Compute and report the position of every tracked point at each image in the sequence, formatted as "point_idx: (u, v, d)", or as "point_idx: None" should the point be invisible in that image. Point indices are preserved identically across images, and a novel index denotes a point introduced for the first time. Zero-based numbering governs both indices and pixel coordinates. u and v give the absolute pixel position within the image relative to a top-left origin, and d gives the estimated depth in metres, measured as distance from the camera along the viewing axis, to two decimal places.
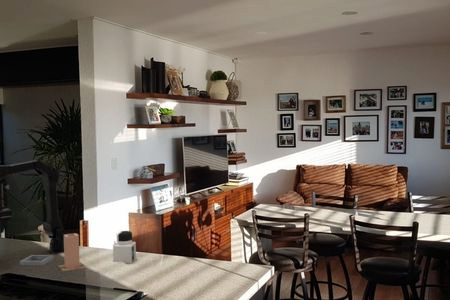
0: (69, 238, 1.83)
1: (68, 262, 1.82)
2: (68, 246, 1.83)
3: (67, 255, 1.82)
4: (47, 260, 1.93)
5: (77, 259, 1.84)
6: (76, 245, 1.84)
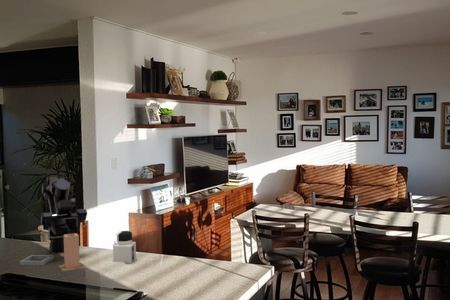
0: (69, 238, 1.83)
1: (68, 262, 1.82)
2: (68, 246, 1.83)
3: (67, 255, 1.82)
4: (47, 260, 1.93)
5: (77, 259, 1.84)
6: (76, 245, 1.84)
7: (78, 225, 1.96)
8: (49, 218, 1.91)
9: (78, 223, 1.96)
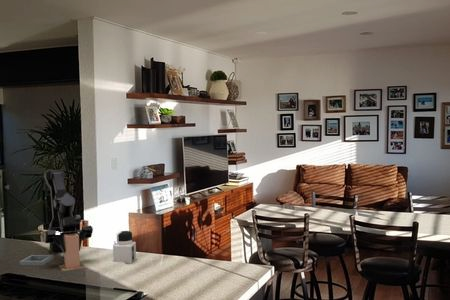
0: (69, 238, 1.83)
1: (68, 262, 1.82)
2: (68, 246, 1.83)
3: (67, 255, 1.82)
4: (47, 260, 1.93)
5: (77, 259, 1.84)
6: (76, 245, 1.84)
7: (79, 243, 1.87)
8: (58, 235, 1.84)
9: (79, 241, 1.87)
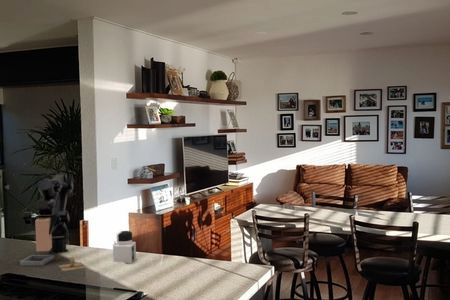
0: (38, 222, 1.87)
1: (37, 245, 1.87)
2: (38, 229, 1.87)
3: (36, 238, 1.87)
4: (47, 260, 1.93)
5: (46, 243, 1.88)
6: (45, 229, 1.87)
7: (50, 227, 1.90)
8: (32, 218, 1.90)
9: (51, 225, 1.90)
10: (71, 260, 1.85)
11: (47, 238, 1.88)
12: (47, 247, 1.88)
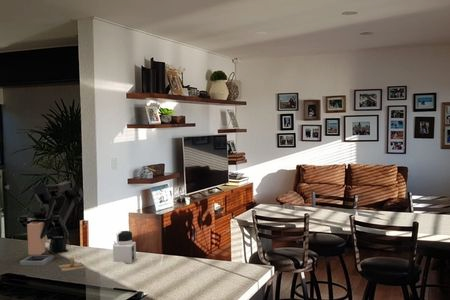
0: (30, 226, 1.91)
1: (29, 248, 1.91)
2: (30, 233, 1.91)
3: (28, 241, 1.91)
4: (47, 260, 1.93)
5: (37, 247, 1.91)
6: (36, 233, 1.91)
7: (42, 232, 1.93)
8: (26, 222, 1.95)
9: (43, 230, 1.93)
10: (71, 260, 1.85)
11: (38, 242, 1.91)
12: (38, 251, 1.91)
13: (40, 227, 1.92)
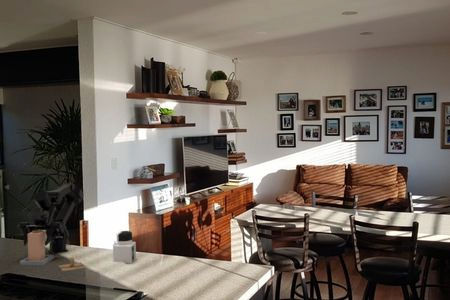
0: (30, 235, 1.91)
1: (29, 258, 1.91)
2: (30, 243, 1.91)
3: (29, 251, 1.91)
4: (47, 260, 1.93)
5: (38, 256, 1.91)
6: (37, 243, 1.91)
7: (47, 238, 1.93)
8: (22, 228, 1.95)
9: (47, 236, 1.93)
10: (71, 260, 1.85)
11: (38, 252, 1.91)
12: (38, 260, 1.91)
13: (40, 237, 1.92)
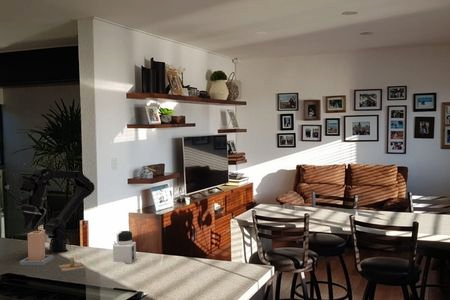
0: (30, 235, 1.91)
1: (29, 258, 1.91)
2: (30, 243, 1.91)
3: (29, 251, 1.91)
4: (47, 260, 1.93)
5: (37, 256, 1.91)
6: (36, 243, 1.91)
7: None
8: None
9: None
10: (71, 260, 1.85)
11: (38, 252, 1.91)
12: (38, 260, 1.91)
13: (40, 237, 1.92)
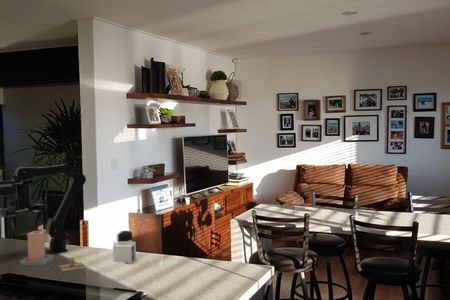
0: (30, 235, 1.91)
1: (29, 258, 1.91)
2: (30, 243, 1.91)
3: (29, 251, 1.91)
4: (47, 260, 1.93)
5: (37, 256, 1.91)
6: (36, 243, 1.91)
7: None
8: None
9: None
10: (71, 260, 1.85)
11: (38, 252, 1.91)
12: (38, 260, 1.91)
13: (40, 237, 1.92)
